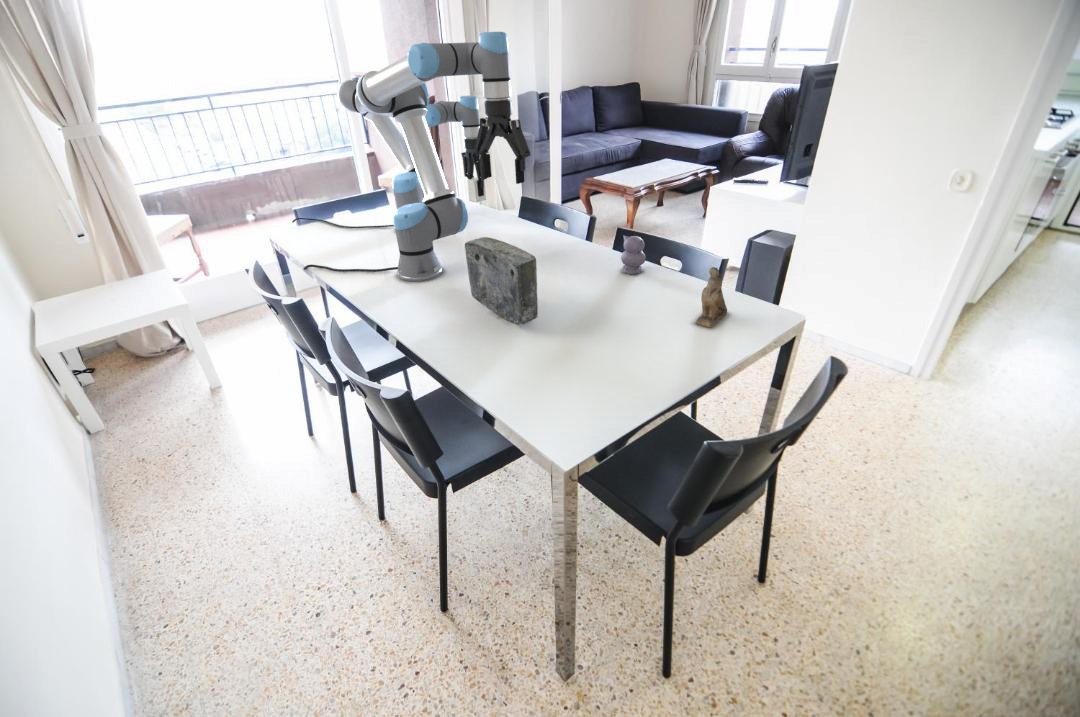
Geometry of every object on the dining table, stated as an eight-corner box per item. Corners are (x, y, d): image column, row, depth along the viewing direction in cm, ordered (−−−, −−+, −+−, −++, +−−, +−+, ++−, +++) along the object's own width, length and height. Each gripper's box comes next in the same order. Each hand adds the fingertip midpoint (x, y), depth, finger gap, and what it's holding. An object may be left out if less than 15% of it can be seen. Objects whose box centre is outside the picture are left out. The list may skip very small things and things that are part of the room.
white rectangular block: (486, 200, 220) (484, 178, 216) (476, 202, 217) (474, 181, 212) (479, 198, 223) (477, 177, 218) (469, 201, 220) (467, 179, 215)
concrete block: (545, 326, 139) (543, 257, 128) (519, 336, 134) (514, 266, 124) (495, 295, 157) (489, 234, 147) (470, 303, 153) (463, 240, 143)
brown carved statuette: (709, 335, 136) (713, 280, 124) (691, 329, 139) (693, 274, 128) (730, 313, 142) (736, 258, 130) (712, 307, 145) (716, 253, 133)
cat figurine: (649, 270, 171) (652, 236, 165) (636, 276, 167) (638, 242, 160) (628, 264, 176) (630, 231, 170) (615, 271, 172) (617, 237, 165)
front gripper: (541, 99, 131) (543, 182, 142) (477, 97, 145) (483, 173, 156) (521, 101, 126) (525, 187, 137) (457, 99, 140) (465, 177, 151)
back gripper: (493, 138, 204) (497, 196, 216) (465, 134, 214) (470, 190, 226) (479, 140, 199) (484, 199, 211) (451, 137, 209) (457, 193, 222)
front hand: (503, 180), depth 147 cm, fingers open, 13 cm apart
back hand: (477, 194), depth 219 cm, fingers closed on white rectangular block, 5 cm apart
